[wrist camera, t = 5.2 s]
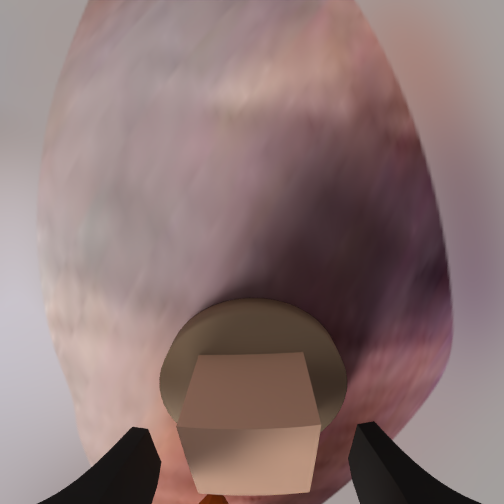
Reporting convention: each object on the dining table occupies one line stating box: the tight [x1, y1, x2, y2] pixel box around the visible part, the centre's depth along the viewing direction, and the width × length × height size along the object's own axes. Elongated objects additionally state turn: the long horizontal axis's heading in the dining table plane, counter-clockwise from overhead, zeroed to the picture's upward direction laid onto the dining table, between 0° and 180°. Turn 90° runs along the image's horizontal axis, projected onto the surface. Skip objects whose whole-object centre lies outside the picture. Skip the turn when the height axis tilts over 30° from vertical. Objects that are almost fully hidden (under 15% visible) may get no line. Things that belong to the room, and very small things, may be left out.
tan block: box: [176, 352, 321, 495], centre depth 10 cm, size 4×4×4 cm
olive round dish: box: [160, 298, 347, 432], centre depth 12 cm, size 8×8×2 cm
